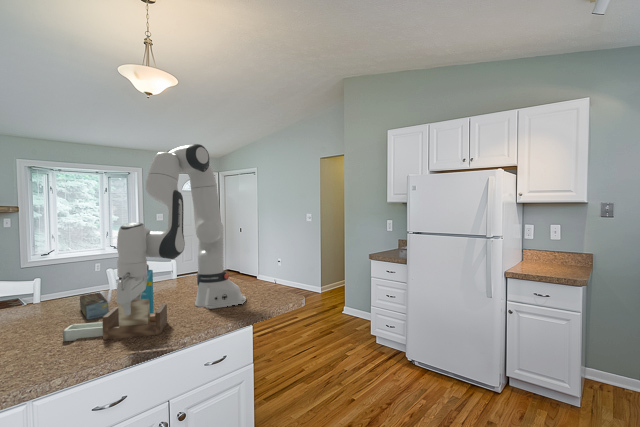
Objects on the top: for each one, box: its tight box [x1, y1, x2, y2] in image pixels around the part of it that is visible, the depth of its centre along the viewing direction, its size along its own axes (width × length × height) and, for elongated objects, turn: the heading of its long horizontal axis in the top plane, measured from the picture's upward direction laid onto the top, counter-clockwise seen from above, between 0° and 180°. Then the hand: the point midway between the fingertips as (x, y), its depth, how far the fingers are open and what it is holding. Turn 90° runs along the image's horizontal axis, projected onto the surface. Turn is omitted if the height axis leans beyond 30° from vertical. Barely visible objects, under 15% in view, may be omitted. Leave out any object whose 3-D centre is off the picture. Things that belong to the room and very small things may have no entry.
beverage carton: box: [79, 292, 110, 320], centre depth 139 cm, size 8×19×7 cm, turn 42°
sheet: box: [117, 299, 150, 327], centre depth 114 cm, size 9×2×12 cm, turn 104°
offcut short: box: [150, 312, 156, 323], centre depth 120 cm, size 6×4×2 cm
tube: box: [140, 269, 155, 313], centre depth 133 cm, size 7×5×19 cm, turn 72°
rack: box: [101, 302, 168, 340], centre depth 117 cm, size 18×11×8 cm, turn 104°
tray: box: [62, 321, 103, 342], centre depth 114 cm, size 12×6×4 cm, turn 104°
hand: (132, 310), depth 114 cm, fingers open, 8 cm apart
